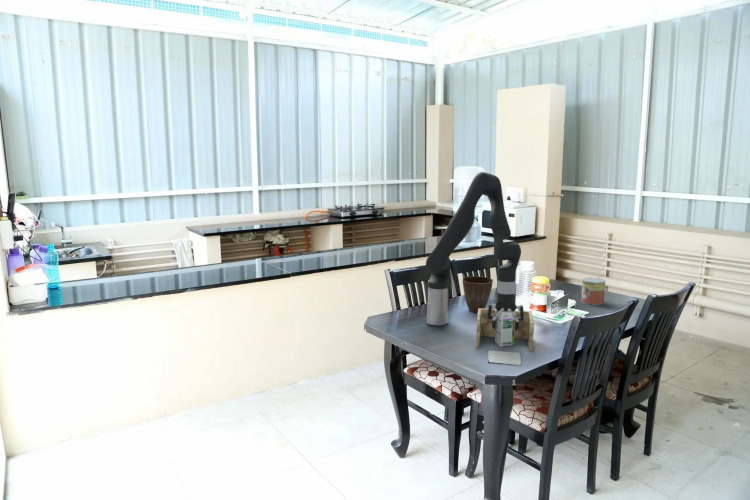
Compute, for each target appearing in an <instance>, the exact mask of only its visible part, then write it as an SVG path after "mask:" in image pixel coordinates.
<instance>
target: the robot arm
mask: <svg viewBox="0 0 750 500" xmlns="http://www.w3.org/2000/svg"><path fill="white" fill-rule="evenodd" d="M482 196H486V197H487V199H488V200H489V203H490V213H489V224H490V229H491V232H492V234H493V235H492V236H493V254H494V256H495V259H497V260H498V261H506V263H505V264H503V265H500V266H499V267H498V270H497V284H496V302H495V304H492V303H490V302H489V304H488V308H487V309H488V319H491V320H492V328H494V329H495V327H496V318H497V317H498V316H499V315H500V313H499V312H500V311H509V312H512V317H513V318H514V319H515V330H517V329H518V328H519V321H523V320H524V313H523V311H524V305H523V304H520V305H516V295H517V282H516V280H517V278H516V276H517V274H516V273H517V269H518V266H519V262H520V259H521V256H522V255H521V254H522V247H521V246H520V244H519V243H518V242H517V241H516V242H513V241H512V242H509V241H508V242H504V240H507V239H509V238H510V237H511V235H512V232H511V227H510V225H509V221H508V218H507V215H506V211H505V204H504V198H503V197H504V196H503V190H502V182H501V180H500V178H499V177H498V176H497V175H494V174H492V173H488V172H486V171H481V172H478V173H477V174H475V176H474V177H473V179H472V181H471V183H470V185H469V186H468V189H467V191H466V194H465V195H464V198H463V199H462V201H461V203H460V205H459V207H458V209H457V210H456V212H455V214H454V215H453V217H452V218H451V220H450V221H449V223H448V225H447V227H446V229H445V230H444V232H443V234H442V236H441V238H440V240H439V242H438V244H437V245H436V246H435V247H434V249H433V250H432V252H431V253H430V254H429V255H428V256H427V258H426V261H425V268H426V270H427V272H428V273H429V274H430V277H429V279H428V281H427V304H426V324H427V325H432V326H437V327H438V326H439V327H440V326H445V325H447V324H448V318H449V317H448V315H449V314H448V310H449V309H448V308H449V306H448V305H449V303H448V302H449V282H450V277H451V259H450V256H451V254H452V253H453V251H455V249H456V248H457V247H458V246H459V244H461V242H463V240H464V239H465V238H466V237H467V235H468V234H469V232H470V230H471V229H472V228H473V226H474V223H475V218H476V217H475V216H476V215H475V214H476V207H477V204H478V202H479V200H480V199H481V197H482ZM493 309H497V311H498V313H495V314H494V316H491V310H493ZM515 310H516V311H520V317H517V315H516V314H514V313H513V312H514V311H515Z"/></svg>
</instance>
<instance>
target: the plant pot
mask: <svg viewBox="0 0 750 500" xmlns="http://www.w3.org/2000/svg"><path fill="white" fill-rule="evenodd" d="M461 280H462V289H463V293H464V298H465V302H466V305H467V308H468V311H470V312H471V313H478V308H481V309H486V306H487V305H488V302H489V300H490V299H489V298H490V296H491V291H492V288H493V283H494V282H493V281H494V280H493V278H490V277H486V276H479V275H478V276H477V275H475V276H473V275H472V276H465V277H463V278H462V279H461Z"/></svg>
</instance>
